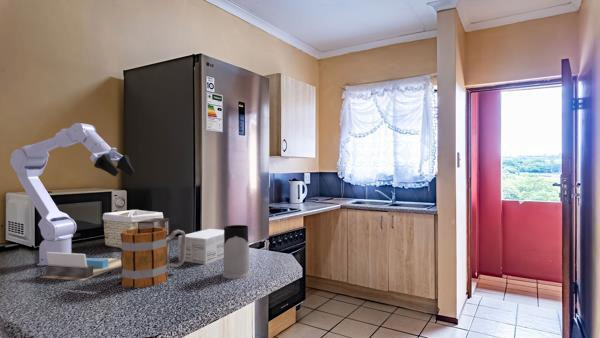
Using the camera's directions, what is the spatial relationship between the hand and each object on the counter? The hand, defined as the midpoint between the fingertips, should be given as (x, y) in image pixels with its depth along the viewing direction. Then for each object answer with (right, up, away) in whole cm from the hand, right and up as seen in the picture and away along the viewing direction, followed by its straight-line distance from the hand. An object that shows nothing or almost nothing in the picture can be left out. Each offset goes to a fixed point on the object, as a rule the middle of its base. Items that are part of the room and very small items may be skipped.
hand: (124, 174), depth 120 cm
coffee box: (+9, -32, +2) cm, 33 cm away
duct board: (-10, -32, -2) cm, 34 cm away
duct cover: (-12, -26, -11) cm, 31 cm away
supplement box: (+24, -32, +14) cm, 43 cm away
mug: (+15, -32, -12) cm, 37 cm away
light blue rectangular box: (-10, -31, -1) cm, 33 cm away
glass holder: (+39, -32, -6) cm, 51 cm away
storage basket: (-14, -32, +36) cm, 51 cm away
